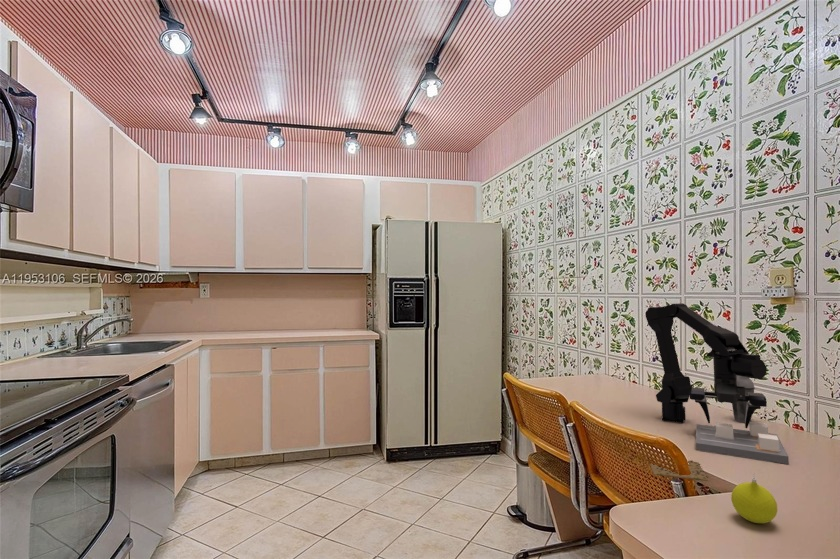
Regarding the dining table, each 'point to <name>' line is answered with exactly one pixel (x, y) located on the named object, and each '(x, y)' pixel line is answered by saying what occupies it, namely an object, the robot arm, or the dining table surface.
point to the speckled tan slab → (695, 474)
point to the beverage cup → (740, 406)
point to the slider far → (758, 428)
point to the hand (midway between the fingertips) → (727, 425)
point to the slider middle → (724, 430)
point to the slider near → (768, 442)
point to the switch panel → (737, 445)
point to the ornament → (754, 502)
